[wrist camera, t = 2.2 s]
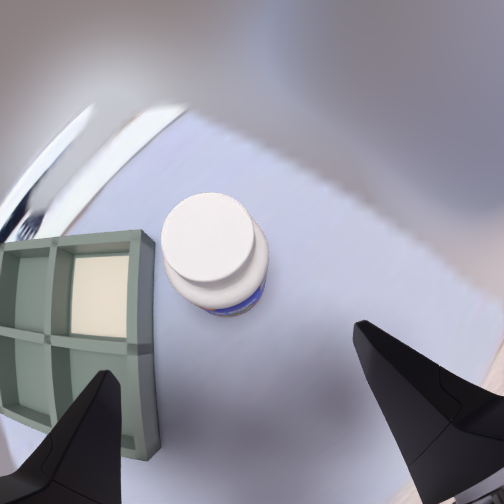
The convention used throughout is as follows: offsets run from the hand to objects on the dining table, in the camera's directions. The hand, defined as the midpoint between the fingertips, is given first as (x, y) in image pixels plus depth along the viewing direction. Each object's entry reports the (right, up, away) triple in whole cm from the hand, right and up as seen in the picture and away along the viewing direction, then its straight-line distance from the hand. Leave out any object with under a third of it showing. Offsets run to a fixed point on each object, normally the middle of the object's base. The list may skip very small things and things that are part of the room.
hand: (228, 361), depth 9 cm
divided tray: (-15, -4, +10) cm, 18 cm away
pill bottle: (-1, +2, +12) cm, 12 cm away
